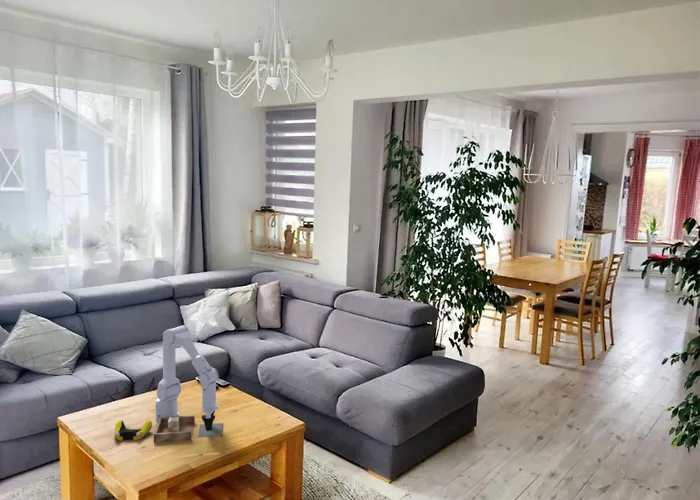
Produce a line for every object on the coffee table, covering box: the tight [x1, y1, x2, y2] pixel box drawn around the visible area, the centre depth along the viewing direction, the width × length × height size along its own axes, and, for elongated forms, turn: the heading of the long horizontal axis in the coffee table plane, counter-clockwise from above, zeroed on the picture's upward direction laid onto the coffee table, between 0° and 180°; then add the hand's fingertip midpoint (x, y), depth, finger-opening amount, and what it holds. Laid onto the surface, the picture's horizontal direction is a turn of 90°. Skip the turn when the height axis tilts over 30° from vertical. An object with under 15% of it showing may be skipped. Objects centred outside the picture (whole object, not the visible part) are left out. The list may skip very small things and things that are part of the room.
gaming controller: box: [114, 419, 153, 442], centre depth 225 cm, size 15×6×10 cm
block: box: [168, 417, 179, 432], centre depth 228 cm, size 4×4×6 cm
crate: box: [153, 414, 196, 443], centre depth 229 cm, size 15×16×4 cm
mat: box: [197, 422, 224, 438], centre depth 232 cm, size 10×12×1 cm
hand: (209, 426), depth 231 cm, fingers open, 7 cm apart
